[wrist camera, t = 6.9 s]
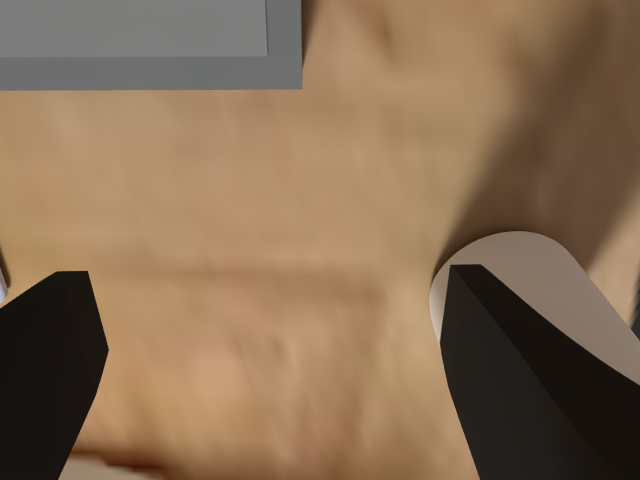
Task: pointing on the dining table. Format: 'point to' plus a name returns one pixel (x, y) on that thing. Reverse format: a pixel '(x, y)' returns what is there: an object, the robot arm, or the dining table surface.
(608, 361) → the can
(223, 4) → the grey flat square block
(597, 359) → the robot arm
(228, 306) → the dining table surface
